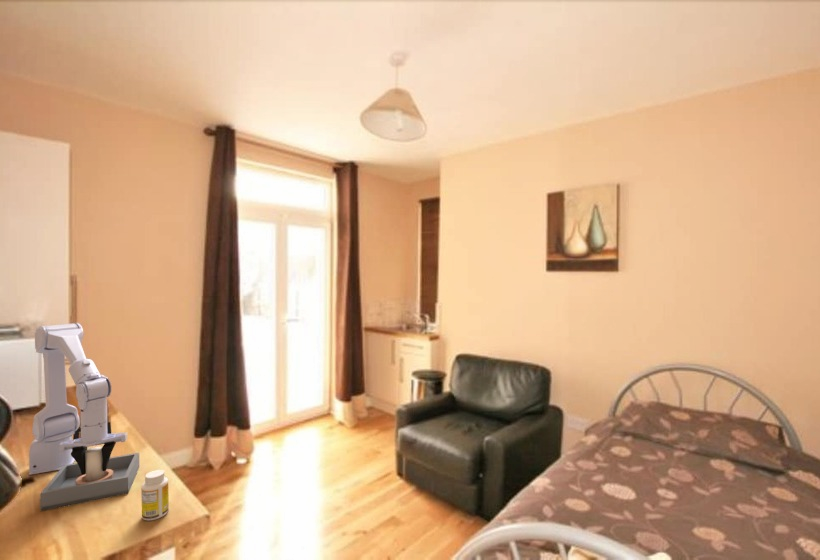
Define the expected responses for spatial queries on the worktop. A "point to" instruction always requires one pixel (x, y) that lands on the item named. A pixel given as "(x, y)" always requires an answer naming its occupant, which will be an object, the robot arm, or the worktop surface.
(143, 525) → the worktop surface
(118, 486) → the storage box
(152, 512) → the supplement bottle
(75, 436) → the ammunition clip
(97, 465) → the peg
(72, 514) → the worktop surface
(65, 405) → the robot arm
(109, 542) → the worktop surface
